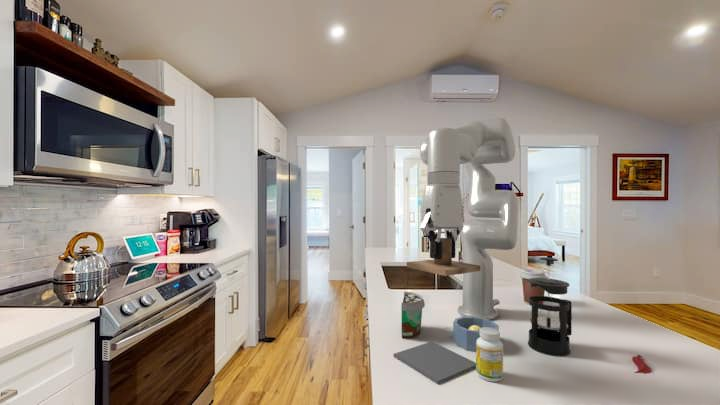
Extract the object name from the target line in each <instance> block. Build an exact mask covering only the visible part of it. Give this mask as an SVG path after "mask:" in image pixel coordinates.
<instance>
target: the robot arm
mask: <svg viewBox="0 0 720 405" xmlns="http://www.w3.org/2000/svg"><path fill="white" fill-rule="evenodd" d="M513 136H514V135H513V132H512V128H511V126H510V124H509V122H508V120H506V119H505V118H503V117H494V118H486V119H476V120H472V121H470V122H467V123H465V124H464V125H462V126H460V127H455V128H452V127H439V128H435V129H433V130H431V131H429V133H428V136H427V137H426V138H425V139H424V140H423V141H422V143H421V145H420V148H419V155H420V158H421V161H422V162H423V164H425V165H426V166H427V177H426V178H427V185H426V186H424V191H423V194H422V202H421V210H420V211H421V212H420V227H419V229H420V230H421V231H422V232H423V233H424V234H425V235H426V237H427V241H428V242H429V258H430V259H432V260H433V259H438V260H440V259H442V242H440V238H442V230H444V238H450V239H452V259H455V258H456V244H457V243H456V242H457V241H458V236H459V235H460V241H461V251H462V263H468V264H474V265H479V266H480V271H476V272H469V273H463V274H462V305H460V306H458V307H457V313H458V314H460V315H461V316H462V317H478V318H484V319H487V320H490V321H492V320H494V319H495V320H496V319H497V318H498V317H499V312H498V311H497V310H496V309H495V306H497V305H500V303H501V301H500V299H499V298H495V299H494V263H493V262H494V261H493V259H492V258H491V256H490V255H489V253H488V252H487V251H486V250H500V251H502V250H503V251H510V250H513V249H514V248H515V247H516V246H517V242H518V226H519V225H518V223H519V222H518V221H519V220H518V218H519V200H518V196H517V194H516V193H515V192H514V191H513V190H508V189H496V177H495V175H494V174H493V173H492V172H491V171H490V169H488V168H487V167H486V166H485V165H491V164H492V165H493V164H507V163H509V162H511V161H512V162H513V160H514V158H515V155H516V145H515V144H516V143H515V140H514V137H513ZM461 165H464V166H465V168H466V172H467V174H468V177H469V188H468V189H469V190H468V197H467V211H468V214H469V215H470V216H471V217H474V218H475V219H467V220H466V221H464V222H463V198H462V190H461V187H460V186H461V183H460V181H461V180H460V179H461ZM477 218H482V219H477ZM483 218H485V219H483ZM490 218H492V219H490ZM494 219H495V220H494ZM499 219H501V220H499Z"/></svg>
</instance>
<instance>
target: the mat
mask: <svg viewBox="0 0 720 405" xmlns="http://www.w3.org/2000/svg"><path fill="white" fill-rule="evenodd" d="M393 357H394V358H396V359H397V360H399V361H400V362H402V363H404V364H405V365H407V366H408V367H409V368H411V369H412V370H415V371H416V372H417V373H420V374H421V375H423V376H424V377H425V378H427V379H429V380H430V381H432V382H434V383H435V384H437V385H439V384H442V383H443V382H444V383H445V382H446V381H449V380H450V379H453V378H455V377H458V376H459V375H462V374H464V373H467V372H469V371H471V370H474V369H476V361H474V360H471V359H470V358H468V357H465V356H463V355H461V354H458V353H457V352H454V351H453V350H451V349H449V348H447V347H444V346H442V345H440V344H438V343H436V342H434V341H428V342H427V343H421V344H419V345H416V346H413V347H411V348H407V349H404V350H401V351H398V352H395V353H393Z"/></svg>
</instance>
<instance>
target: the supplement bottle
mask: <svg viewBox="0 0 720 405" xmlns="http://www.w3.org/2000/svg"><path fill="white" fill-rule="evenodd" d="M500 339H501V332H500V330H499V331H498V330H497V329H494V328H490V327H482V328H480V337H479V338H478V339H477V341H476V352H475V355H476V356H475V363H476V368H475V370H476V375H477V376H478V377H479V378H480V379H482V380H484V381H487V382H491V383H498V382H500V381H502V380H503V379H504V344H503V342H502V341H501V340H500Z"/></svg>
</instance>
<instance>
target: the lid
mask: <svg viewBox="0 0 720 405" xmlns="http://www.w3.org/2000/svg"><path fill="white" fill-rule="evenodd" d="M440 242H442V259H440V260H438V259H433V258H432V259H424V260H415V261H406V268H410V269H413V270H418V271H422V272H426V273H430V274H435V275H439V276H445V277H447V276H455V275H461V274H462V275H463V273H469V272H476V271H480V266H479V265H474V264H468V263H463V261H462V262H461V261H455V260H452V259H453V258H452V239H450V238H445V237H441V238H440Z"/></svg>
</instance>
